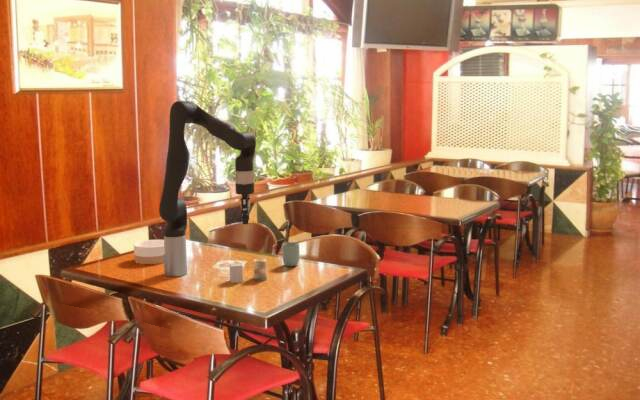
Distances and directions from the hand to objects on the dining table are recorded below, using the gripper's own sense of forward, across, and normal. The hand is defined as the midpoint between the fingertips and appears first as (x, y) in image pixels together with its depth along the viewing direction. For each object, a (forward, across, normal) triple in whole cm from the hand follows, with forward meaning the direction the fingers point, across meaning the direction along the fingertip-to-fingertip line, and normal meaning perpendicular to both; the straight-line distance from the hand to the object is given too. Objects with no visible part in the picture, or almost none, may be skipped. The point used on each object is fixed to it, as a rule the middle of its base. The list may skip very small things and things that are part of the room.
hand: (246, 222), depth 284 cm
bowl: (+26, -46, -47) cm, 71 cm away
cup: (+26, -29, +18) cm, 43 cm away
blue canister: (+26, -8, +5) cm, 27 cm away
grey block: (+26, -5, -5) cm, 27 cm away
